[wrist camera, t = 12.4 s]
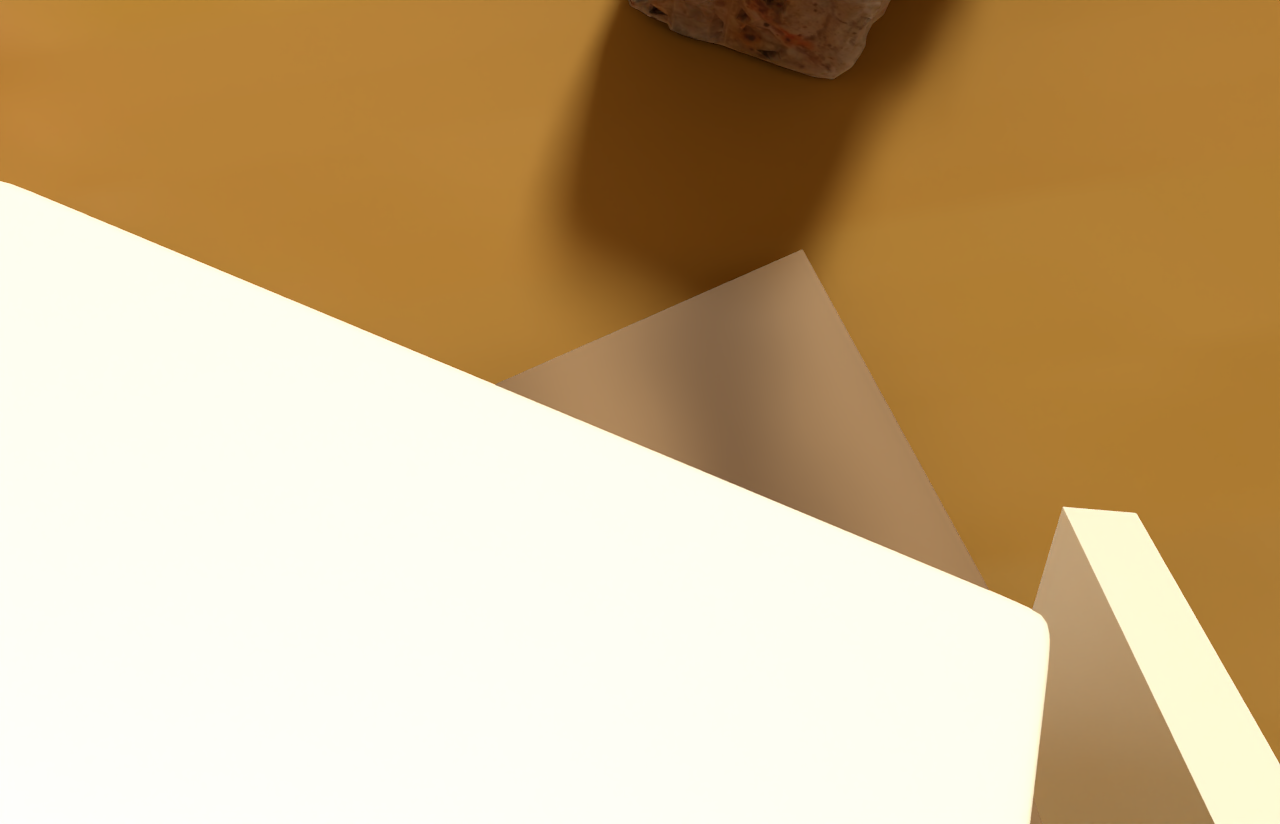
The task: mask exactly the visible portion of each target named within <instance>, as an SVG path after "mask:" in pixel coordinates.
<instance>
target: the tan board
mask: <svg viewBox="0 0 1280 824" xmlns="http://www.w3.org/2000/svg"><path fill="white" fill-rule="evenodd" d="M495 385H496V386H499V387H501V388H504V389H506V390H508V391H511V392H513V393H516V394H518V395H520V396H523V397H525V398H528V399H530V400H532V401H535V402H537V403H540V404H542V405H544V406H547V407H549V408H552V409H554V410H556V411H559V412H561V413H564V414H566V415H568V416H571V417H573V418H576V419H578V420H581V421H583V422H585V423H588V424H590V425H593V426H595V427H597V428H600V429H602V430H605V431H607V432H609V433H612V434H614V435H617V436H619V437H621V438H624V439H626V440H629V441H631V442H633V443H636V444H638V445H641V446H643V447H645V448H648V449H650V450H653V451H655V452H657V453H660V454H662V455H665V456H667V457H669V458H672V459H674V460H677V461H679V462H681V463H684V464H686V465H689V466H691V467H693V468H696V469H698V470H701V471H703V472H705V473H708V474H710V475H713V476H715V477H717V478H720V479H722V480H725V481H727V482H730V483H732V484H734V485H737V486H739V487H742V488H744V489H746V490H749V491H751V492H754V493H756V494H758V495H761V496H763V497H766V498H768V499H770V500H773V501H775V502H778V503H780V504H782V505H785V506H787V507H790V508H792V509H794V510H797V511H799V512H802V513H804V514H806V515H809V516H811V517H814V518H816V519H818V520H821V521H823V522H826V523H828V524H830V525H833V526H835V527H838V528H840V529H842V530H845V531H847V532H850V533H852V534H854V535H857V536H859V537H862V538H864V539H867V540H869V541H871V542H874V543H876V544H879V545H881V546H883V547H886V548H888V549H891V550H893V551H895V552H898V553H900V554H903V555H905V556H907V557H910V558H912V559H915V560H917V561H919V562H922V563H924V564H927V565H929V566H931V567H934V568H936V569H939V570H941V571H943V572H946V573H948V574H951V575H953V576H955V577H958V578H960V579H963V580H965V581H967V582H970V583H972V584H975V585H977V586H979V587H982V588H984V589H987V590H989V589H988V587H987V585H986V583H985V581H984V580H983V578H982V576H981V574H980V572H979V570H978V569H977V567H976V565H975V563H974V561H973V560H972V558H971V556H970V554H969V552H968V550H967V549H966V547H965V545H964V543H963V541H962V539H961V538H960V536H959V534H958V532H957V530H956V528H955V527H954V525H953V523H952V521H951V519H950V518H949V516H948V514H947V512H946V510H945V508H944V507H943V505H942V503H941V501H940V499H939V497H938V496H937V494H936V492H935V490H934V488H933V487H932V485H931V483H930V481H929V479H928V477H927V476H926V474H925V472H924V470H923V468H922V466H921V465H920V463H919V461H918V459H917V457H916V455H915V454H914V452H913V450H912V448H911V446H910V445H909V443H908V441H907V439H906V437H905V435H904V434H903V432H902V430H901V428H900V426H899V424H898V423H897V421H896V419H895V417H894V415H893V413H892V412H891V410H890V408H889V406H888V404H887V403H886V401H885V399H884V397H883V395H882V393H881V392H880V390H879V388H878V386H877V384H876V382H875V381H874V379H873V377H872V375H871V373H870V372H869V370H868V368H867V366H866V364H865V362H864V361H863V359H862V357H861V355H860V353H859V351H858V350H857V348H856V346H855V344H854V342H853V340H852V339H851V337H850V335H849V333H848V331H847V330H846V328H845V326H844V324H843V322H842V320H841V319H840V317H839V315H838V313H837V311H836V309H835V308H834V306H833V304H832V302H831V300H830V298H829V297H828V295H827V293H826V291H825V289H824V288H823V286H822V284H821V282H820V280H819V278H818V277H817V275H816V273H815V271H814V269H813V267H812V266H811V264H810V262H809V260H808V258H807V257H806V255H805V253H804V251H803V249H802V250H799V251H797V252H795V253H792V254H790V255H788V256H786V257H783V258H781V259H779V260H777V261H774V262H772V263H770V264H767V265H765V266H763V267H761V268H758V269H756V270H754V271H752V272H749V273H747V274H745V275H742V276H740V277H738V278H736V279H733V280H731V281H729V282H727V283H724V284H722V285H720V286H717V287H715V288H713V289H711V290H708V291H706V292H704V293H702V294H699V295H697V296H695V297H692V298H690V299H688V300H686V301H683V302H681V303H679V304H677V305H674V306H672V307H670V308H667V309H665V310H663V311H661V312H658V313H656V314H654V315H652V316H649V317H647V318H645V319H642V320H640V321H638V322H636V323H633V324H631V325H629V326H627V327H624V328H622V329H620V330H617V331H615V332H613V333H611V334H608V335H606V336H604V337H602V338H599V339H597V340H595V341H592V342H590V343H588V344H586V345H583V346H581V347H579V348H577V349H574V350H572V351H570V352H567V353H565V354H563V355H561V356H558V357H556V358H554V359H552V360H549V361H547V362H545V363H542V364H540V365H538V366H536V367H533V368H531V369H529V370H527V371H524V372H522V373H520V374H517V375H515V376H513V377H511V378H508V379H506V380H504V381H502V382H499V383H497V384H495ZM1030 824H1042V822H1041V818H1040V815H1039V812H1038V809H1037V806H1036V803H1035V800H1034V797H1033V804H1032V812H1031V821H1030Z"/></svg>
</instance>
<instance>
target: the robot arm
mask: <svg viewBox="0 0 1280 824" xmlns="http://www.w3.org/2000/svg"><path fill="white" fill-rule="evenodd" d="M1032 610H1033V611H1035V612H1037V613H1038V614H1040V615H1041V616H1042V617H1043V618H1044V620H1045V621H1046V623H1047V625H1048V630H1049V634H1050V652H1049V665H1048V674H1047V683H1046V692H1045V701H1044V710H1043V718H1042V727H1041V735H1040V744H1039V752H1038V761H1037V769H1036V778H1035V786H1034V795H1033V797H1034V800H1035V803H1036V806H1037V809H1038V812H1039V815H1040V818H1041V822H1042V824H1280V764H1279V762H1278V760H1277V759H1276V757H1275V755H1274V753H1273V752H1272V750H1271V748H1270V746H1269V745H1268V743H1267V741H1266V739H1265V738H1264V736H1263V734H1262V732H1261V731H1260V729H1259V727H1258V725H1257V724H1256V722H1255V720H1254V718H1253V717H1252V715H1251V713H1250V711H1249V710H1248V708H1247V706H1246V704H1245V703H1244V701H1243V699H1242V697H1241V696H1240V694H1239V692H1238V690H1237V689H1236V687H1235V685H1234V683H1233V682H1232V680H1231V678H1230V676H1229V675H1228V673H1227V671H1226V669H1225V668H1224V666H1223V664H1222V662H1221V661H1220V659H1219V657H1218V655H1217V654H1216V652H1215V650H1214V648H1213V647H1212V645H1211V643H1210V641H1209V640H1208V638H1207V636H1206V634H1205V633H1204V631H1203V629H1202V627H1201V626H1200V624H1199V622H1198V620H1197V619H1196V617H1195V615H1194V613H1193V612H1192V610H1191V608H1190V606H1189V605H1188V603H1187V601H1186V599H1185V598H1184V596H1183V594H1182V592H1181V591H1180V589H1179V587H1178V585H1177V584H1176V582H1175V580H1174V578H1173V577H1172V575H1171V573H1170V571H1169V570H1168V568H1167V566H1166V564H1165V563H1164V561H1163V559H1162V557H1161V556H1160V554H1159V552H1158V550H1157V549H1156V547H1155V545H1154V543H1153V542H1152V540H1151V538H1150V536H1149V535H1148V533H1147V531H1146V529H1145V528H1144V526H1143V524H1142V522H1141V521H1140V519H1139V517H1138V515H1137V514H1136V513H1129V512H1117V511H1105V510H1093V509H1081V508H1069V507H1063V508H1062V512H1061V515H1060V518H1059V522H1058V525H1057V528H1056V532H1055V535H1054V539H1053V542H1052V545H1051V549H1050V552H1049V555H1048V559H1047V562H1046V565H1045V569H1044V572H1043V576H1042V579H1041V582H1040V586H1039V589H1038V592H1037V596H1036V599H1035V602H1034V606H1033V609H1032Z"/></svg>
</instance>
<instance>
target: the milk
mask: <svg viewBox="0 0 1280 824" xmlns="http://www.w3.org/2000/svg"><path fill="white" fill-rule="evenodd" d="M1049 652H1050V634H1049V630H1048V625H1047V623H1046V621H1045V620H1044V618H1043V617H1042V616H1041V615H1040V614H1038V613H1037V612H1035V611H1033V610H1032V609H1030V608H1028V607H1026V606H1024V605H1021V604H1019V603H1017V602H1015V601H1012V600H1010V599H1008V598H1006V597H1003V596H1001V595H999V594H996V593H994V592H991V591H989V590H987V589H984V588H982V587H979V586H977V585H975V584H972V583H970V582H967V581H965V580H963V579H960V578H958V577H955V576H953V575H951V574H948V573H946V572H943V571H941V570H939V569H936V568H934V567H931V566H929V565H927V564H924V563H922V562H919V561H917V560H915V559H912V558H910V557H907V556H905V555H903V554H900V553H898V552H895V551H893V550H891V549H888V548H886V547H883V546H881V545H879V544H876V543H874V542H871V541H869V540H867V539H864V538H862V537H859V536H857V535H854V534H852V533H850V532H847V531H845V530H842V529H840V528H838V527H835V526H833V525H830V524H828V523H826V522H823V521H821V520H818V519H816V518H814V517H811V516H809V515H806V514H804V513H802V512H799V511H797V510H794V509H792V508H790V507H787V506H785V505H782V504H780V503H778V502H775V501H773V500H770V499H768V498H766V497H763V496H761V495H758V494H756V493H754V492H751V491H749V490H746V489H744V488H742V487H739V486H737V485H734V484H732V483H730V482H727V481H725V480H722V479H720V478H717V477H715V476H713V475H710V474H708V473H705V472H703V471H701V470H698V469H696V468H693V467H691V466H689V465H686V464H684V463H681V462H679V461H677V460H674V459H672V458H669V457H667V456H665V455H662V454H660V453H657V452H655V451H653V450H650V449H648V448H645V447H643V446H641V445H638V444H636V443H633V442H631V441H629V440H626V439H624V438H621V437H619V436H617V435H614V434H612V433H609V432H607V431H605V430H602V429H600V428H597V427H595V426H593V425H590V424H588V423H585V422H583V421H581V420H578V419H576V418H573V417H571V416H568V415H566V414H564V413H561V412H559V411H556V410H554V409H552V408H549V407H547V406H544V405H542V404H540V403H537V402H535V401H532V400H530V399H528V398H525V397H523V396H520V395H518V394H516V393H513V392H511V391H508V390H506V389H504V388H501V387H499V386H496V385H494V384H492V383H489V382H487V381H484V380H482V379H480V378H477V377H475V376H472V375H470V374H468V373H465V372H463V371H460V370H458V369H456V368H453V367H451V366H448V365H446V364H444V363H441V362H439V361H436V360H434V359H431V358H429V357H427V356H424V355H422V354H419V353H417V352H415V351H412V350H410V349H407V348H405V347H403V346H400V345H398V344H395V343H393V342H391V341H388V340H386V339H383V338H381V337H379V336H376V335H374V334H371V333H369V332H367V331H364V330H362V329H359V328H357V327H355V326H352V325H350V324H347V323H345V322H343V321H340V320H338V319H335V318H333V317H331V316H328V315H326V314H323V313H321V312H319V311H316V310H314V309H311V308H309V307H307V306H304V305H302V304H299V303H297V302H295V301H292V300H290V299H287V298H285V297H282V296H280V295H278V294H275V293H273V292H270V291H268V290H266V289H263V288H261V287H258V286H256V285H254V284H251V283H249V282H246V281H244V280H242V279H239V278H237V277H234V276H232V275H230V274H227V273H225V272H222V271H220V270H218V269H215V268H213V267H210V266H208V265H206V264H203V263H201V262H198V261H196V260H194V259H191V258H189V257H186V256H184V255H182V254H179V253H177V252H174V251H172V250H170V249H167V248H165V247H162V246H160V245H158V244H155V243H153V242H150V241H148V240H145V239H143V238H141V237H138V236H136V235H133V234H131V233H129V232H126V231H124V230H121V229H119V228H117V227H114V226H112V225H109V224H107V223H105V222H102V221H100V220H97V219H95V218H93V217H90V216H88V215H85V214H83V213H81V212H78V211H76V210H73V209H71V208H69V207H66V206H64V205H61V204H59V203H57V202H54V201H52V200H49V199H47V198H45V197H42V196H40V195H37V194H35V193H33V192H30V191H27V190H25V189H22V188H20V187H17V186H14V185H12V184H9V183H4V182H0V824H1030V821H1031V812H1032V804H1033V795H1034V786H1035V778H1036V769H1037V761H1038V752H1039V744H1040V735H1041V727H1042V718H1043V710H1044V701H1045V692H1046V683H1047V674H1048V665H1049Z"/></svg>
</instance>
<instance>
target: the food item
mask: <svg viewBox="0 0 1280 824" xmlns="http://www.w3.org/2000/svg"><path fill="white" fill-rule="evenodd" d="M628 1H629V4H630V6H631V7H633V8H635V9H637V10H639V11H641V12H642V13H644V14H645V15H647V16H649V17H652V18H654V19H657V20H659V21H662V22H664V23H666V24H668V26H669V28H670V30H672V31H674V32H677V33H679V34H681V35H684V36H687V37H690V38H694V39H697V40H701V41H706V42H711V43H716V44H720V45H723V46H726V47H728V48H731V49H734V50H736V51H739V52H742V53H745V54H748V55H750V56H753V57H756V58H759V59H762V60H765V61H768V62H770V63H773V64H776V65H779V66H782V67H785V68H787V69H790V70H794V71H797V72H800V73H803V74H806V75H809V76H812V77H819V78H827V79H834V78H836V77H838V76H839V75H841V74H842V73H844V72H846V71H847V70H849V69H850V68H852V66H853V65H854V64H855V62H856V61H857V59H858V58H859V57H860V55H861V53H862V51H863V49H864V48H865V45H866V37H867V34H868V32H869V30H870V28H871V25H872V24H873V23H875V22H876V21H877V20H878V19H879V18H880V17H882V16H883V15H884V13H885V11H886V9H887V6H888V4H889V2H890V1H891V0H628Z"/></svg>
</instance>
